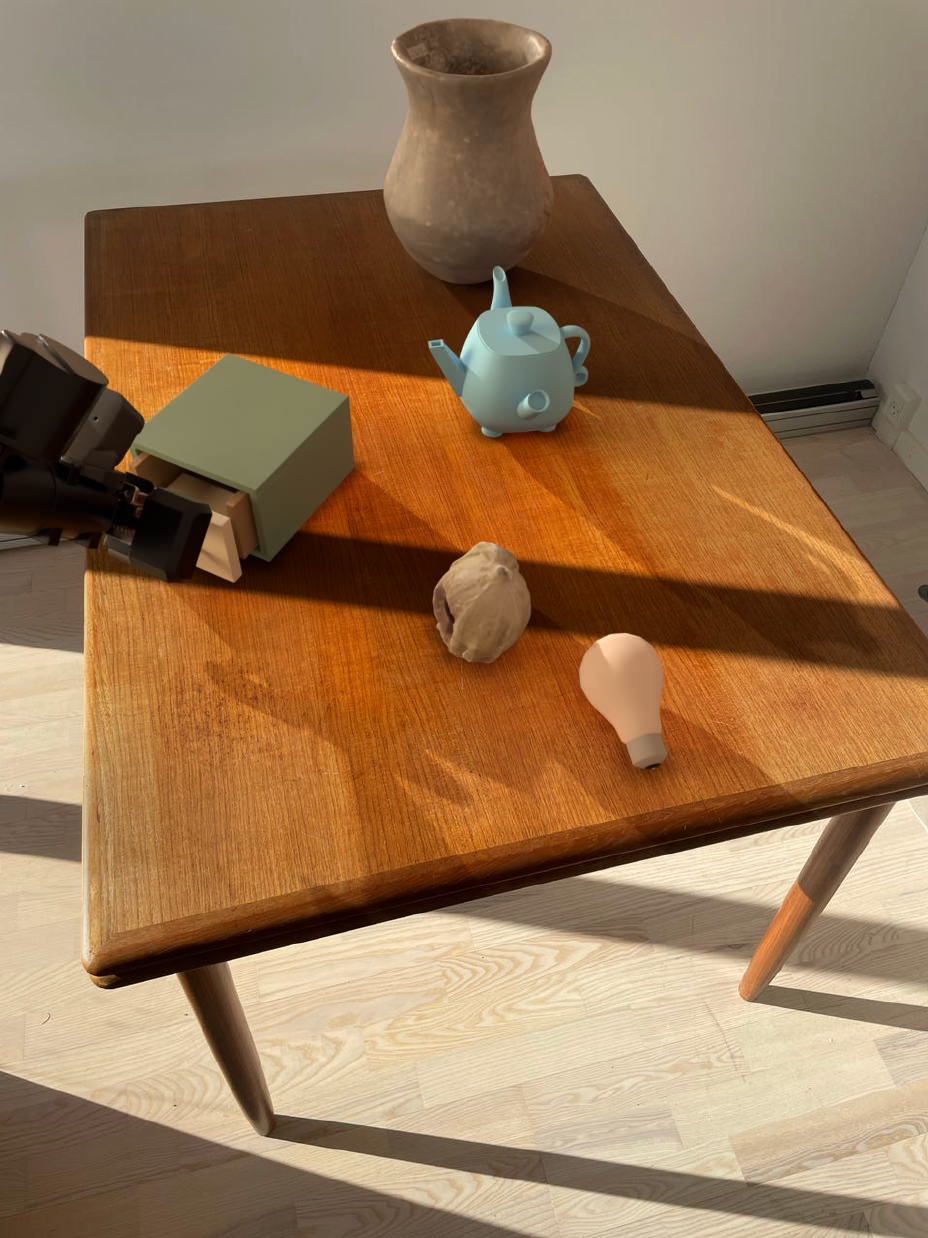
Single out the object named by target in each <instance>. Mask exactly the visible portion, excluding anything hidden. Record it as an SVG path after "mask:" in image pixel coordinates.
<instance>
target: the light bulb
mask: <svg viewBox="0 0 928 1238" xmlns="http://www.w3.org/2000/svg"><path fill="white" fill-rule="evenodd" d="M578 673H579V675H578V676H579V685H580V686H579V687H580V688H581V690H582V692H583V694H584V695H585V697H586V699H587V701H588V702H589V703H590V705H591V706H593V708H595V710H596V711H598V712H599V713H600V714H601V715H602V717H604V718H605V719H606V720H607V721H608V723H610V724H611V726H612V727H613V728H614V730H615V731H616V733H617V736H618V738H619V739H620V741H621V743H623V744H625V745H626V749H627V752H628V755H629V758H630V761H631V764H632V766H633V767H635V768H638V769H644V770H646V771H649V770H652V771H653V770H656V769H657V768H658V767H660V766H661V765H662V763H663V762H664V761H665V760H666V758H667V757H668V755H669V754H668V750H667V749H666V745H665V742H664V740H663V736H662V734H661V733H662V731H663V726H662V725H663V724H662V720H661V715H660V712H661V701H662V694H663V688H664V684H665V676H664V675H665V674H664V668H663V662H662V660H661V658H660V656H659V654H658V653H657V651H656V650H655V648H654V646H653V645H652V644H651V643H649V642H648V641H646V640H645V639H644V638H642V637H641V636H638V635H635V634H631V633H627V632H619V633H610V634H608V635H606V636H603V637H602V638H600V639H597V640H596V641H594V643H593V644H592V645H591V646H590V647H589V649H587V651H586V652H585V653H584V654H583V656H582V660H581V662H580V666H579V668H578Z"/></svg>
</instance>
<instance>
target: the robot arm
mask: <svg viewBox="0 0 928 1238" xmlns="http://www.w3.org/2000/svg"><path fill="white" fill-rule="evenodd" d="M109 380H110V379H108V377H107V376H106V374H105V373H104V372H103V371H102V370H101V369H99V368H98V367H97V366H96V365H95V364H93V363H92V362H91V361H89V360H88V358H85V357H84V356H82V355H81V354H80V353H78V352H76V351H75V350H73V349H72V348H70V347H69V346H66V345H64V344H63V343H61V342H59V341H58V340H55V339H53V338H52V337H49V336H47V335H45V334H43V333H39V334H38V335H37V334H34V333H32V332H31V333H30V332H25V331H24V332H21V333H20V334H17V333H15V332H13V331H10V330H8V329H3V330H1V331H0V534H3V535H16V536H26V537H28V538H30V539H32V540H34V541H37V542H38V543H41V544H42V545H45V546H48V547H49V546H50V547H59V544H60V541H61V540H62V539H63V540H68V541H70V542H72V543H75V544H77V545H79V546H82V547H84V548H86V549H88V550H90V549H91V550H98V549H99V547H100V546H99V545H100V542H101V539H102V537H103V535H105V536H104V539H103V541H102V546H103V547H106V548H108V549H109V548H110V549H112V550H115V551H117V552H119V553H121V554H124V555H126V556H128V557H129V559H130V562H131V565H132V566H131V565H130V566H131V567H132V568H134V569H136V570H138V571H140V572H143V573H145V574H147V575H150V576H152V577H153V578H157V579H159V580H161V581H163V582H165V583H168V584H185V583H187V582H188V581H191V580H192V579H193V577H194V574H195V570H196V564H197V561H198V558H199V555H200V552H201V549H202V546H203V543H204V540H205V537H206V534H207V531H208V527H209V524H210V521H211V518H212V515H213V513H212V511H211V508H210V506H209V504H207V503H204V502H202V501H199V500H197V499H194V498H192V497H189V496H187V495H185V494H182V493H179V492H176V491H173V490H170V489H166V488H161V487H157V488H156V489H155V486H154V484H153V483H152V482H151V481H149V480H147V479H144V478H142V477H139V476H137V475H135V474H132V473H131V472H130V471H127V470H126V471H125V472H123V471H121V470H119V469H116V467H117V466H119V465H120V464H121V463H122V462H123V460H124V458H125V457H126V455H127V453H128V452H129V451H130V449H129V448H130V446H131V445H132V443H133V441H134V440H135V438H136V436H137V435H138V434H140V433H141V431H142V430H143V428H144V424H145V423H146V420H145V417H144V416H143V415H142V414H141V413H140V411H138V410H137V408H135V406H133V405H132V404H131V403H130V401H129V400H128V399H127V398H126V397H125V396H124V395H123V394H122V393H121V392H118V391H116V390H113V389H112V388H108V385H109V384H110V381H109Z"/></svg>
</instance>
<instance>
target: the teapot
mask: <svg viewBox="0 0 928 1238" xmlns="http://www.w3.org/2000/svg"><path fill="white" fill-rule="evenodd" d="M573 337H574V338H579V339H580V344H579V346H578V349H577V351H576V353H575V355H574V356H573V358H572V357H571V354H570V351H569V348H568V345H567V343H566V339H569V338H573ZM427 343H428V348H429V351H430V354H431V355H432V357H433V359H434V360H435V362H436V363H437V365H438V367H439V368H440V371H441V372H442V374H443V375H444V377H445V379H446V380H447V382H448V384H449V385H450V387H451V389H452V391H453V393H454V394H455V396H456V397H458V398H460V400H461V402H462V405H464V407H465V409H466V410H467V411H468V413H469V414H470V415H471V417H472V418H473V419H474V421H475V422H476V423H477V424H478V425H479V426H480V427H481V433H482V435H484V436H486V437H489V438H498V437H500V436H502V435H503V434H507V433H508V434H513V433H527V432H534V431H539V432H542V433H549V432H552V431H554V430H555V429H556V426H557V425H558V424H559V423H560V422H562V420H563V419H564V418H566V416H567V415H568V414H569V413H570V411H571V409H572V407H573V404H574V398H575V388H577V387H581V386H583V385H585V384H586V383H587V382H588V379H589V371H588V369H587V367H586V366H583V364H584V362H585V360H586V358H587V356H588V354H589V352H590V349H591V338H590V335H589V334H588V332H587V331H586V330H585V329H584V328H582V327H580V326H578V325H573V324H572V325H571V324H569V325H565V326H562V327H559V324H558V323H557V322H556V320H555V319H554V318H553V316H551V315H550V313H548V312H547V311H546V310H544V309H542V308H540V307H537V306H528V305H527V306H526V305H525V306H513V304H512V301H511V295H510V290H509V285H508V279H507V275H506V272H504V271H503V269H502V268H501V267H499V266H496V267H494V269H493V296H492V302H491V306H490V309H489V310H485V311H484V312H482V313H481V314H480V315H479V316H478V317H477V319H476V321H475V322H474V324H473V326H472V327H471V329H470V331H469V332H468V335H467V337H466V339H465V341H464V344H463V346H462V350H461V352H460V356H459V357H458V355H456V354H455V352H454V351H452V350H451V348H450V347H449V346H448V345H447V344H446V343H445V342H444V339H443V338H441V339H434V340H428V341H427Z"/></svg>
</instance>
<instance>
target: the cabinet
mask: <svg viewBox="0 0 928 1238" xmlns="http://www.w3.org/2000/svg"><path fill="white" fill-rule="evenodd" d="M129 452H130V456H131V458H132V459H131V460H132V461H133V460H134V459H135V458H136V457H137V456H139V455H140V454H141V453H142V452H146V453H148V454H151V455H153V456H156V457H158V458H161V459H163V460H166V461H168V462H171V463H173V464H176V465H178V466H181V467H183V468H186V469H188V470H191V471H193V472H196V473H198V474H201V475H204V476H206V477H209V478H211V479H214V480H216V481H219V482H221V483H224V484H226V485H229V486H231V487H234V488H236V489H239V490H241V491H244V492H246V493H249V494H250V498H251V503H252V508H253V513H254V518H255V524H256V529H257V534H258V539H259V544H258V545H257V546H256V547H255V548H254V550H253V551H252V552H251V553H250V554H249V555H252V556H253V557H257V558H259V559H261V560H264V561H266V562H268V563H270V562H271V561H272V560H273V559H274V558H275V556H276V555H277V554H278V553H280V551H281V550H282V549H283V548H284V547H285V545H286V544H287V543H288V542H289V541H290V540H291V539H292V538H293V536H294V535H295V534H297V532H298V531H299V530H300V529H301V527H303V526H304V524H305V523H306V522H307V521H308V520H309V519H310V518H311V516H312V515H313V514H314V513H315V512H316V511H317V510H318V509H319V508H320V507H321V505H322V504H324V502H325V501H326V500H328V498H329V497H330V496H331V494H332V493H334V491H335V490H336V489H337V488H338V487H339V485H340V484H342V483H343V481H344V480H345V479H346V478H347V477H348V476H349V475H350V474H351V473H352V471H353V470H355V467H356V465H355V455H354V454H355V451H354V441H353V427H352V413H351V403H350V395H348V394H345V393H342V392H339V391H337V390H334V389H332V388H331V389H330V388H328V387H325V386H324V385H323V386H322V385H319V384H316V383H313V382H312V381H308V380H306V379H303V378H300V377H297V376H294V375H291V374H289V373H285V372H283V371H280V370H277V369H275V368H272V367H268V366H265V365H263V364H261V363H257V362H255V361H251V360H249V359H246V358H243V357H240V356H237V355H234V354H232V353H229V352H227V353H226V354H224V355H223V356H222V357H221V358H220V359H218V360H217V361H216V362H215V363H214V364H213V365H212V366H210V367H209V368H208V369H206V370H205V371H204V372H203V373H201V375H200V376H199V377H197V378H196V379H195V380H194V381H192V382H191V383H190V384H189V385H187V386H186V388H184V389H183V390H182V391H181V392H179V394H177V395H176V396H175V397H174V398H172V400H170V401H169V402H168V403H167V404H165V405H164V406H163V407H161V408H160V409H159V410H158V411H157V412H156V413H155V414H154V415H153V416H151V417H150V418H149V419H148V420H146V421H145V424H144V428H143V430H142V431H141V433H140V434H138V435H137V436H136V438H135V440H134V441H133V443H132V445H131V446H130V448H129Z"/></svg>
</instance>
